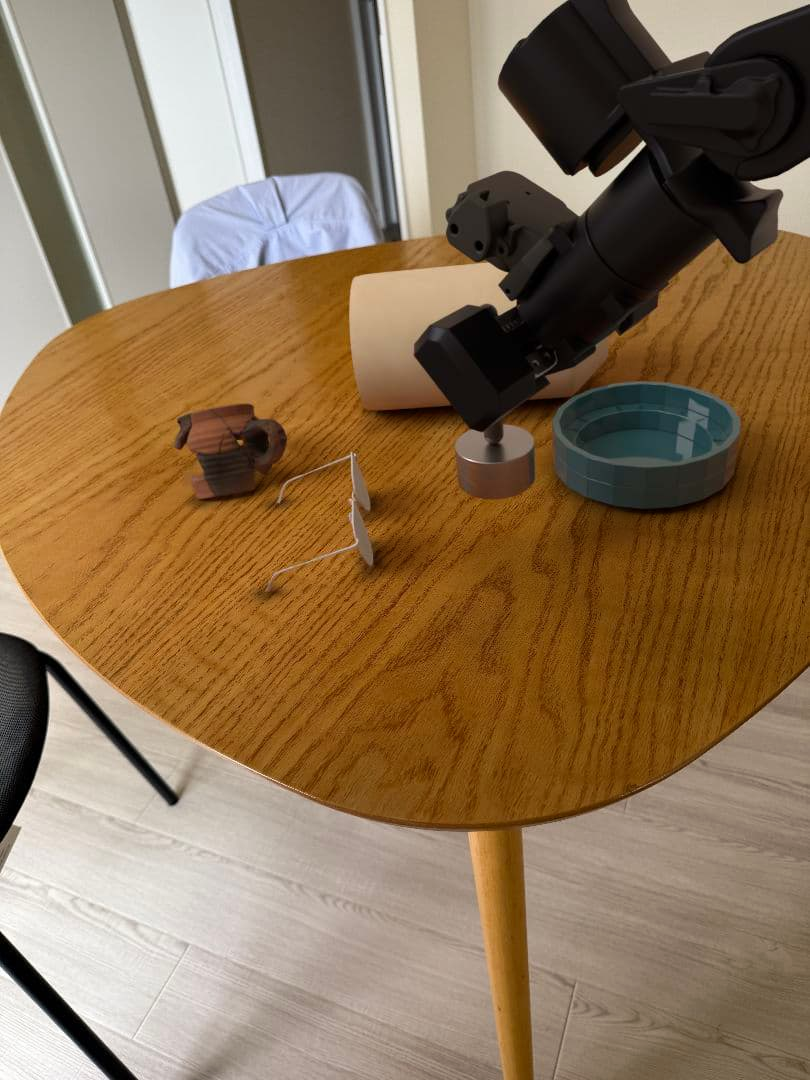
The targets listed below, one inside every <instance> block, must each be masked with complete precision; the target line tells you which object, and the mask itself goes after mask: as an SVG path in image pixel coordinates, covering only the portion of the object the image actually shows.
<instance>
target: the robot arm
mask: <svg viewBox="0 0 810 1080" xmlns="http://www.w3.org/2000/svg"><path fill="white" fill-rule="evenodd" d="M497 88H498V90H499V91H500V92H501V94H502V95H503V97H504V98H505V99H506V100H507V101H508V103H509V104H510V105H511V107H512V108H513V109H514V110H515V112H516V113H517V114H518V116H519V117H520V118H521V120H522V121H523V122H524V123H525V125H526V126H527V127H528V129H529V130H530V131H531V133H532V134H533V135H534V136H535V138H536V139H537V141H539V142H540V145H541V146H543V148H544V150H546V151H547V153H548V154H549V155H550V157H551V159H552V160H553V161H554V162H555V163H556V165H557V166H558V167H559V169H560V170H561V171H562V172H563V173H564V175H566V176H570V177H575V176H576V175H577V174H578V173H579V172H581V171H582V170H585V169H586V168H587V169H588V170H589V172H590V173H591V174H592V176H593V177H594V178H599V177H602V176H603V175H605V174H607V173H608V172H610V171H611V170H612V169H614V168H615V167H617V166H618V165H619V164H620V163H621V162H622V161H624V160H625V159H626V158H627V157H628V156H629V155H630V154H631V153H633V152H634V151H635V150H636V148H638V146H640V145H641V144H642V143H644V146H643V147H642V148H641V149H640V150H639V152H638V153H636V155H635V156H633V158H632V159H631V160H630V161H629V162H628V164H627V165H626V166H625V167H624V168H623V169H622V170H621V171H620V172H619V173H618V174H617V176H616V177H615V178H614V179H613V180H611V182H610V183H608V185H607V186H606V188H604V190H603V191H601V193H600V194H599V195H598V196H597V197H596V199H594V201H593V202H592V203H591V204H590V205H589V206H588V207H587V208H586V209H585V210H584V211H583V212H582V213H581V215H578V214H577V213H576V212H575V211H573V210H572V209H571V208H569V207H568V206H567V204H566V203H565V202H564V201H563V200H562V199H561V198H559V197H557V196H556V195H554V194H553V193H551V192H549V191H548V190H546V189H545V188H543V187H542V186H540V185H538V184H537V183H535V182H533V181H532V180H531V179H530V178H527V177H526V176H524V175H523V174H521V173H519V172H517V171H512V170H501V171H498V172H496V173H493V174H491V175H488V176H486V177H484V178H480V179H479V180H476V181H474V182H471V183H469V184H468V185H467V187H466V191H463V192H460V193H458V194H457V197H456V201H455V203H454V205H453V206H451V207H449V208H447V209H446V211H445V214H444V215H445V220H446V222H447V225H446V229H445V236H446V239H447V242H448V244H449V245H450V246H451V247H453V248H454V249H456V250H457V251H458V252H460V253H461V254H463V255H464V256H466V257H467V258H468V259H470V260H471V261H473V262H474V263H482V262H483V261H486V262H487V263H488V262H489V263H490V264H492V265H493V266H495V267H496V268H498V269H499V270H501V271H504V272H508V274H507V275H506V276H505V277H504V279H503V280H502V281H501V282H500V283H499V284H498V286H499V287H500V288H501V290H502V291H503V292H504V294H505V295H506V296H507V298H508V299H509V300H510V301H514V300H517V302H516V306H515V307H513V308H511V309H510V310H508V311H506V312H504V313H503V314H501V315H498V314H497V313H496V312H495V310H494V309H493V308H492V306H489V307H487V308H486V307H480V306H475V305H469V304H468V305H466V306H464V307H462V308H460V309H458V310H457V311H455V312H453V313H451V314H449V315H447V316H445V317H444V318H442V319H440V320H438V321H436V322H434V323H432V324H431V325H429V326H428V328H427V329H426V330H425V331H424V332H423V334H422V335H421V336H420V337H419V339H418V340H417V341H416V342H415V344H414V357H415V358H416V359H417V361H418V362H419V363H420V365H421V366H422V367H423V369H424V370H425V371H426V372H427V374H428V375H429V376H430V378H431V379H432V380H433V382H434V383H435V384H436V385H437V387H438V388H439V389H440V391H441V392H442V393H443V395H444V396H445V397H446V398H447V400H448V401H449V402H450V404H451V407H452V408H453V409H454V410H455V412H456V413H457V414H458V416H459V417H460V418H461V420H462V421H463V422H464V423H465V424H466V426H467V428H468V429H469V430H471V429H472V430H475V431H479V432H484V431H485V430H486V429H488V428H489V427H491V426H492V425H494V424H495V423H496V422H498V421H499V420H501V419H502V418H503V419H504V418H505V417H506V416H507V415H509V414H511V413H512V412H513V411H514V410H516V409H518V408H519V407H520V406H521V405H522V404H524V403H525V402H526V401H529V400H528V399H529V398H531V397H532V396H534V395H535V394H536V393H538V392H539V391H541V390H542V389H544V388H545V387H546V386H548V385H549V384H550V382H549V380H548V379H547V378H546V377H545V376H547V375H551V374H554V373H557V372H560V371H563V370H566V369H569V368H573V367H575V366H576V365H578V364H579V363H581V362H582V361H584V360H585V359H586V358H588V357H589V356H591V355H592V354H594V353H595V351H596V344H598V343H599V342H601V341H602V340H603V339H605V338H606V337H608V336H609V335H610V334H611V335H612V334H614V332H616V333H617V335H618V336H619V337H620V336H622V335H623V334H625V333H626V332H628V331H630V330H631V329H632V328H634V327H635V326H637V325H638V324H639V323H640V322H642V321H643V320H644V319H645V318H646V317H647V316H649V315H650V314H651V313H652V312H654V310H656V309H657V308H658V307H659V294H660V293H661V292H662V291H663V290H665V289H666V288H668V286H669V285H670V281H671V280H672V279H673V278H674V277H675V276H677V274H679V273H680V272H681V271H682V270H683V269H684V268H686V267H687V266H688V265H690V264H691V262H693V261H694V260H695V259H696V258H697V257H699V256H700V255H701V254H702V253H703V252H704V251H705V250H706V249H708V248H709V247H710V246H711V245H713V244H714V243H715V242H716V241H717V240H718V241H719V242H720V243H721V245H722V246H723V247H724V248H725V250H726V251H727V252H728V253H729V255H730V256H731V257H732V259H734V260H733V261H735V262H736V263H737V264H740V265H745V264H747V263H749V262H750V261H752V260H753V259H754V258H755V257H757V256H758V255H759V254H761V253H762V252H764V251H765V250H766V249H767V248H769V247H770V246H771V245H773V244H774V243H775V242H776V241H777V239H778V236H779V209H780V208H779V207H780V204H781V203H782V200H783V199H784V192H783V190H781V189H780V188H773V189H767V188H762V187H758V186H757V185H754V184H753V183H752V182H760V181H764V180H768V179H771V178H777V177H779V176H781V175H783V174H785V173H787V172H788V171H791V170H792V169H793V168H795V167H797V166H799V165H800V164H802V163H804V162H805V161H807V160H808V159H810V3H808V4H806V5H803V6H800V7H797V8H794V9H792V10H789V11H786V12H784V13H781V14H778V15H774V16H773V17H770V18H767V19H764V20H762V21H759V22H756V23H754V24H751V25H748V26H746V27H744V28H742V29H739V30H737V31H735V32H734V33H732V34H731V35H729V37H727V38H726V39H725V40H724V41H722V42H721V43H720V44H719V45H717V46H716V48H715V49H714V50H713V51H712V52H710V51H708V50H705V51H702V52H699V53H697V54H694V55H693V54H692V55H690V56H687V57H684V58H682V59H679V60H675V61H673V62H672V60H671V59H670V58H669V57H668V55H667V54H666V53H665V51H664V50H663V49H662V48H661V46H660V45H659V44H658V43H657V41H656V40H655V39H654V38H653V35H651V33H650V32H649V31H648V29H647V28H646V27H645V26H644V24H643V23H642V22H641V21H640V20H639V18H638V17H637V15H636V14H635V13H634V11H633V10H632V8H631V6H630V3H629V1H628V0H566V1H564V2H563V3H561V4H560V5H558V6H557V7H556V8H554V9H553V10H552V11H551V12H550V13H549V14H548V15H547V16H546V17H544V18H543V19H542V20H541V21H540V22H539V23H538V24H537V25H536V27H534V28H533V29H532V30H531V31H530V33H529V34H528V35H527V36H526V37H523V38H520V39H519V40H518V41H517V42H516V44H515V45H514V46H513V47H512V49H511V51H510V52H509V54H508V55H507V57H506V59H505V61H504V62H503V64H502V67H501V69H500V72H499V74H498V78H497ZM611 335H610V336H611Z"/></svg>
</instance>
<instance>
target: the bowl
mask: <svg viewBox="0 0 810 1080" xmlns="http://www.w3.org/2000/svg"><path fill="white" fill-rule="evenodd" d="M741 424H742V420H741V418H740V416H739V414H738V413H737V412H736V410H735V408H734V407H733V406H732V405H730V404H729V403H727V401H724V400H723V399H722V398H720V397H719V396H717V395H716V394H713V393H710V392H707V391H705V390H702V389H699V388H696V387H694V386H688V385H683V384H678V383H672V382H662V381H645V380H643V381H628V382H616V383H611V384H607V385H603V386H602V385H601V386H598V387H593V388H591V389H588V390H586V391H584V392H581V393H579V394H576V395H573V396H572V397H569V399H568V400H567V401H566V402H564V403H563V404H562V405H561V406H559V407H558V409H557V410H556V411H555V414H554V417H553V419H552V422H551V426H552V427H551V428H552V429H551V430H552V431H551V433H552V434H551V435H552V437H551V438H552V439H551V440H552V441H551V442H552V443H551V444H552V446H551V447H552V449H551V450H552V453H551V454H552V455H551V456H552V464H553V469H554V473H555V474H556V476H557V477H558V478H559V479H560V480H561V482H562V483H563V484H564V485H565V486H566V487H567V488H568V489H571V490H572V491H574V492H576V493H578V494H580V495H581V496H583V497H585V498H587V499H590V500H593V501H597V502H601V503H603V504H606V505H607V504H608V505H611V506H614V507H623V508H631V509H632V508H633V509H642V510H649V509H651V510H652V509H662V508H663V509H664V508H676V507H680V506H684V505H687V504H692V503H696V502H699V501H702V500H705V499H706V498H709V497H710V496H712V495H714V494H716V493H717V492H719V491H721V490H722V489H724V488H725V486H726V485H727V484H728V483H729V481H730V480H731V479H732V477H733V476H734V475H735V469H736V462H737V455H738V449H739V444H740V443H739V442H740V436H741V427H742V426H741Z"/></svg>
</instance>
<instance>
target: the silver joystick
mask: <svg viewBox="0 0 810 1080" xmlns="http://www.w3.org/2000/svg"><path fill="white" fill-rule="evenodd" d="M489 306H492V308H493V309H494V310H495V312H496V313H497V314H498V312H497V309H496V308H495V307H494V306H493V305H491V304H483V305H481V306H480V307H486V308H487V307H489ZM535 451H536V449H535V438H534V436H533V435H532V433H530V432H529V431H528V430H526V429H524V428H523V427H520V426H516V425H513V424H507V423H506V424H504V418H502V419H501V420H499V421H498V422H496V423H495V424H494V425H492V426H491V427H489V428H488V429H486V430H485V431H484V432H479V431H475V430H472V429H469V430H467V431H465V432H464V433H461V435H460V436H458V438H457V439H456V441H455V444H454V452H455V453H454V454H455V463H456V475H457V476H456V477H457V484H458V486H459V488H460V489H461V490H462V491H463V492H464V493H466V494H467V495H469V496H471V497H473V498H478V499H484V500H504V499H510V498H512V497H513V498H514V497H516V496H518V495H520V494H523V493H524V492H526V491H527V490H529V489H530V488H531V487H532V486H533V485H534V483H535V480H536V457H535V456H536V455H535V453H536V452H535Z"/></svg>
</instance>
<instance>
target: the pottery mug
mask: <svg viewBox="0 0 810 1080" xmlns="http://www.w3.org/2000/svg"><path fill="white" fill-rule="evenodd" d="M176 423H177V424H178V425H179V430H178V433H176V435H175V438H174V444H173V447H174V448H175V449H176V450H178V451H181V450H183V448H184V447H185V445H186V446H187V448H188V450H189V451H190V452H191V453H194V454H195V455H196V458H197V461H198V463H199V465H200V467H201V469H202V471H203V472H202V473H201V474H197V475H194V476H191V477H190V478H189V482H190V484H191V485H190V486H191V487H192V488H193V491H194V493H195V495H196V498H197V499H198V500H205V499H210V498H215V497H221V496H226V497H227V496H233V495H238V494H242V493H247V492H251V491H255V490H256V481H255V478H256V474H255V472H256V471H257V472H258V473H259V474H261V475H264V476H266V475H268V474H269V473H270V472H271V470H272V467H273V465H275V464H277V463H279V461H280V460H281V459H282V458H283V456H284V454H285V451H286V447H287V441H288V437H287V433H286V431H285V429H284V427H283V426H282V425H281V423H279V422H278V421H277V420H275V419H273V418H259V417H258V416H256V413H255V406H254V405H253V404H251V403H248V402H247V403H242V402H241V403H232V404H224V405H218V406H213V407H211V408H204V409H200V410H196V411H193V412H189V413H186V414H184V415H181V416H180V417H177V419H176ZM238 441H242V442H243V443H242V444H240V443H239V442H238Z"/></svg>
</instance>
